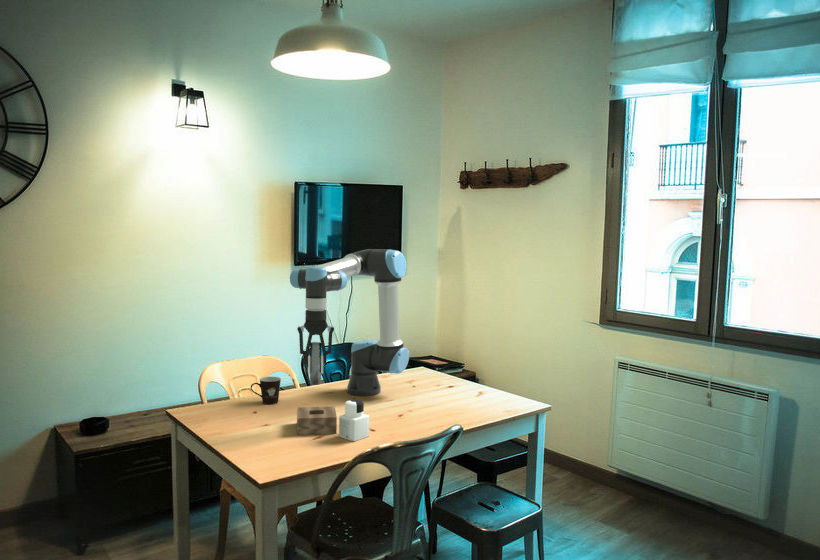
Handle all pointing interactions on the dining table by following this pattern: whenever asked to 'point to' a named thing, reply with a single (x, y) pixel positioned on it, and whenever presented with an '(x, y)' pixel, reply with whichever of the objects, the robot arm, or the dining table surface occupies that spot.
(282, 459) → the dining table surface
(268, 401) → the coffee mug
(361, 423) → the container
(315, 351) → the pin
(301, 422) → the bore block
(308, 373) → the robot arm
